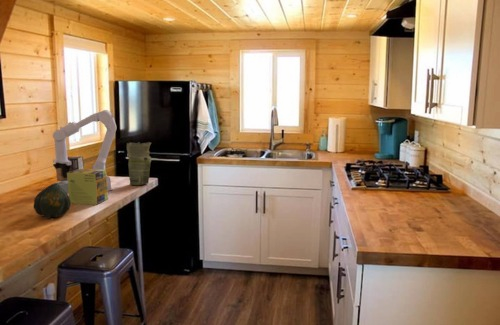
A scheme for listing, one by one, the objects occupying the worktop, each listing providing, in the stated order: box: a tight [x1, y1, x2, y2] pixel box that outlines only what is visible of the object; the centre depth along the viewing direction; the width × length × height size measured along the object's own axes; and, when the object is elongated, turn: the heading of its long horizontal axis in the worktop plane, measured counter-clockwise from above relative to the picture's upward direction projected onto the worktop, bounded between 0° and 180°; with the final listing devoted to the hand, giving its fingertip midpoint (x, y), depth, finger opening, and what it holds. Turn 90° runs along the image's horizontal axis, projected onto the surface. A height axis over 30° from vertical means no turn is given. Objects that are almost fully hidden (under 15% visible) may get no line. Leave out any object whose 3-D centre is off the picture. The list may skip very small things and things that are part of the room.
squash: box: [33, 182, 72, 220], centre depth 181 cm, size 14×15×15 cm
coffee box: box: [67, 156, 85, 172], centre depth 239 cm, size 9×6×16 cm
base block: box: [55, 181, 68, 194], centre depth 222 cm, size 7×7×6 cm
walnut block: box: [55, 168, 67, 182], centre depth 220 cm, size 4×4×6 cm
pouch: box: [126, 141, 152, 186], centre depth 239 cm, size 11×12×25 cm
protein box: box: [67, 168, 109, 206], centre depth 203 cm, size 10×15×16 cm
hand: (63, 177), depth 221 cm, fingers closed on walnut block, 4 cm apart
